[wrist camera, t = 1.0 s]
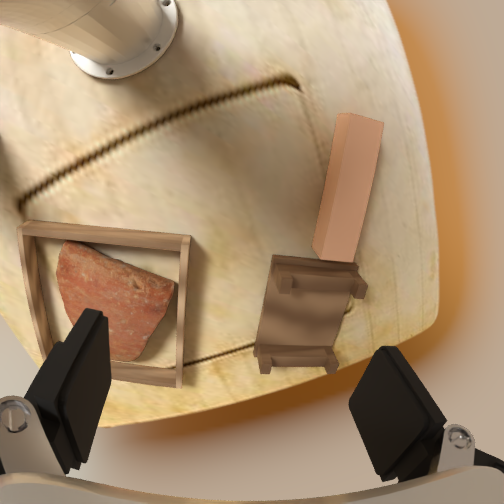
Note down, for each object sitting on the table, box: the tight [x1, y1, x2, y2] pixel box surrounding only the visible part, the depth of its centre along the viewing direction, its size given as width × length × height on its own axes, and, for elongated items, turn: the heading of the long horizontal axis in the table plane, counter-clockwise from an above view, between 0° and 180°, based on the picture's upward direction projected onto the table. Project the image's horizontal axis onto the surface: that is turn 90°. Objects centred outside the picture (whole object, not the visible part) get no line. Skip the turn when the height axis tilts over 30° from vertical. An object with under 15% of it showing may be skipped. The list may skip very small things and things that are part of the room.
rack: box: [253, 255, 368, 374], centre depth 39 cm, size 15×11×5 cm
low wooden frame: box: [17, 220, 191, 388], centre depth 37 cm, size 22×22×3 cm
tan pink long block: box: [311, 113, 384, 262], centre depth 34 cm, size 16×4×4 cm, turn 172°
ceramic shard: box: [56, 240, 175, 362], centre depth 36 cm, size 15×6×15 cm
